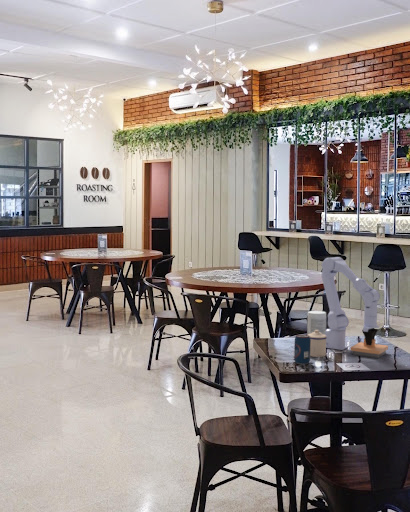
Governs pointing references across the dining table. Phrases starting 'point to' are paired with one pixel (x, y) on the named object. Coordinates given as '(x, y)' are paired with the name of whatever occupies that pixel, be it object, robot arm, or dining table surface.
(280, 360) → the dining table surface
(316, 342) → the teacup with lid
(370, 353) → the parts tub
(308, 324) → the supplement tub
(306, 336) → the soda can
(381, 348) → the lid
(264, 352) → the dining table surface
